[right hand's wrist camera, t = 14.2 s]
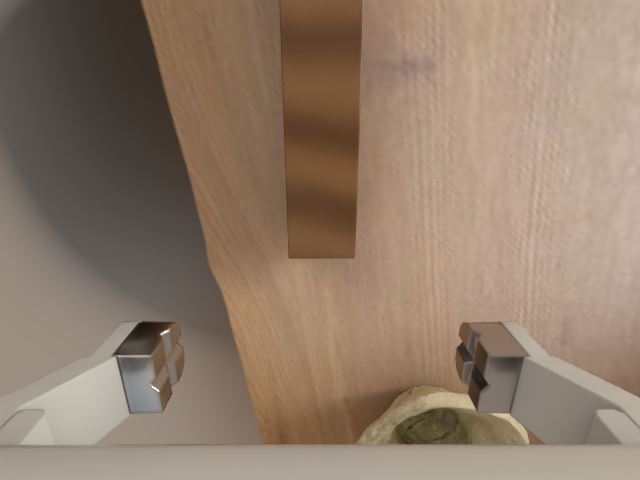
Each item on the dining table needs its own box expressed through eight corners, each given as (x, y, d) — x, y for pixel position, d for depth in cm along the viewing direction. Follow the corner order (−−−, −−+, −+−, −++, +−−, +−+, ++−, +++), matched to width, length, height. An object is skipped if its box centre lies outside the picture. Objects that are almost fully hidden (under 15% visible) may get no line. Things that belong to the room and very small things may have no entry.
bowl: (396, 431, 50) (317, 481, 41) (458, 333, 43) (378, 367, 33) (483, 534, 42) (408, 629, 32) (580, 434, 34) (519, 520, 25)
